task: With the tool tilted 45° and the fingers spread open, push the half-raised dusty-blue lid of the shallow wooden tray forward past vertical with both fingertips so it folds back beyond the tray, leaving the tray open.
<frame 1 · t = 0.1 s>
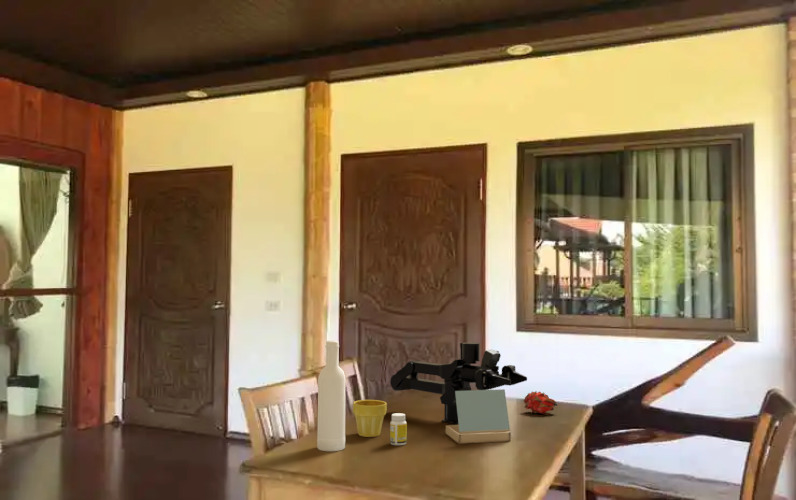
hand: (518, 380, 204), 17 cm above the table, tool horizontal, fingers open, 9 cm apart
bottle: (331, 448, 185), on the table
plant pot: (369, 435, 201), on the table
lid: (482, 411, 195), point 9 cm above the table, hinge at 70.0°
wooden tray: (477, 437, 199), on the table
supplement bottle: (398, 444, 190), on the table
dragon fruit: (540, 413, 236), on the table
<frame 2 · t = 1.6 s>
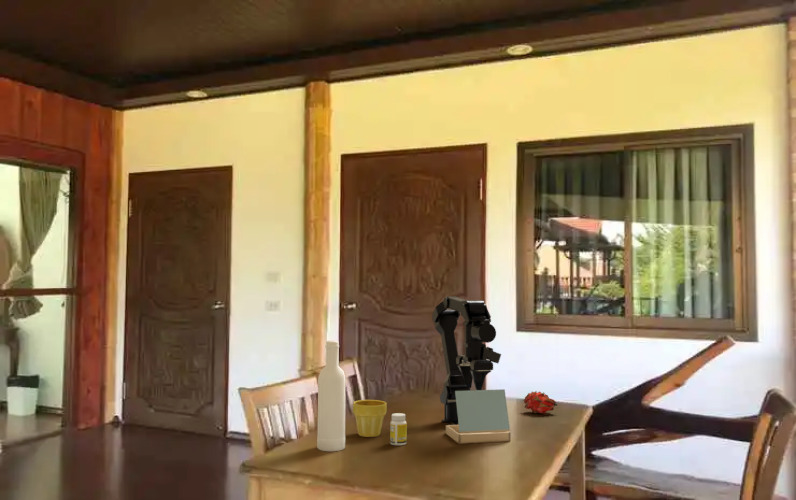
hand: (474, 390, 206), 13 cm above the table, tool pointing down, fingers open, 9 cm apart
nothing on the table moved.
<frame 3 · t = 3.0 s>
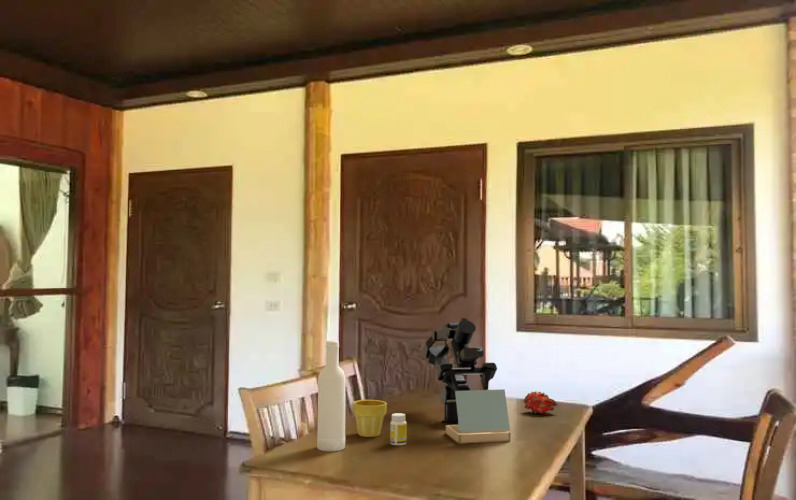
hand: (473, 393, 203), 12 cm above the table, tool tilted 45°, fingers open, 9 cm apart
nothing on the table moved.
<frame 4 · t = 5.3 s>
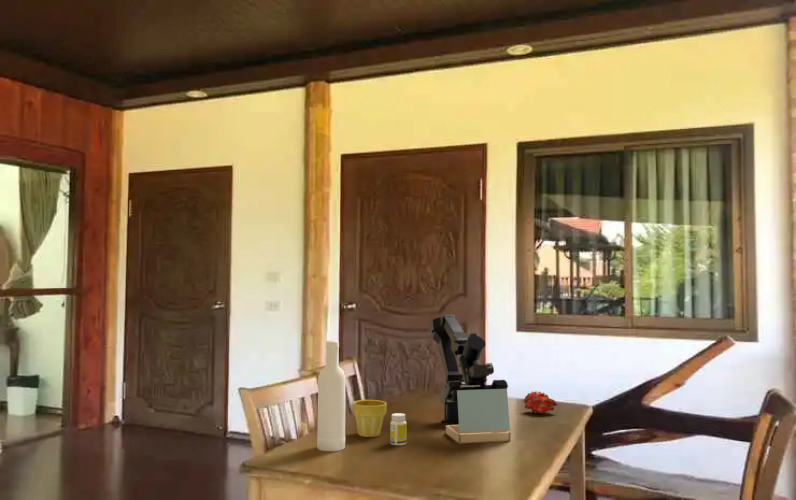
hand: (483, 412, 194), 8 cm above the table, tool tilted 45°
lid: (483, 410, 194), point 9 cm above the table, hinge at 79.1°, touching gripper
everything else where it was.
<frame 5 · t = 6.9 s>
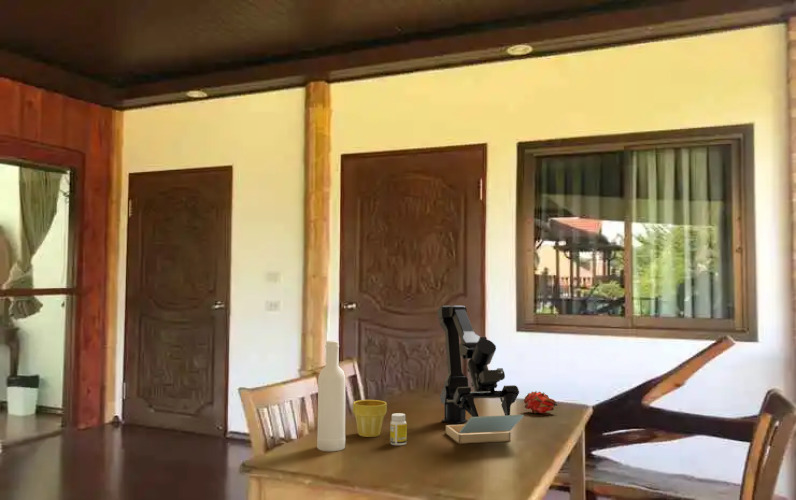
hand: (493, 420, 186), 8 cm above the table, tool tilted 45°, fingers open, 9 cm apart
lid: (491, 424, 188), point 6 cm above the table, hinge at 148.1°
everything else where it was.
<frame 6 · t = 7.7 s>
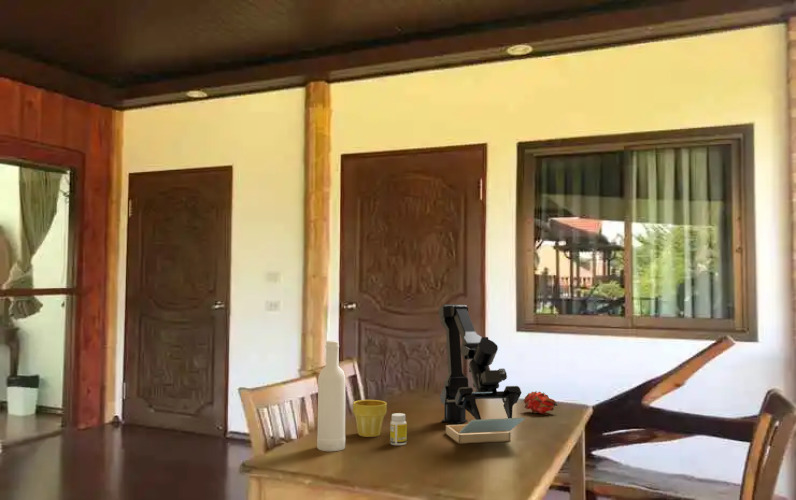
hand: (495, 420, 185), 8 cm above the table, tool tilted 45°
lid: (491, 425, 188), point 6 cm above the table, hinge at 152.1°, touching gripper
everything else where it was.
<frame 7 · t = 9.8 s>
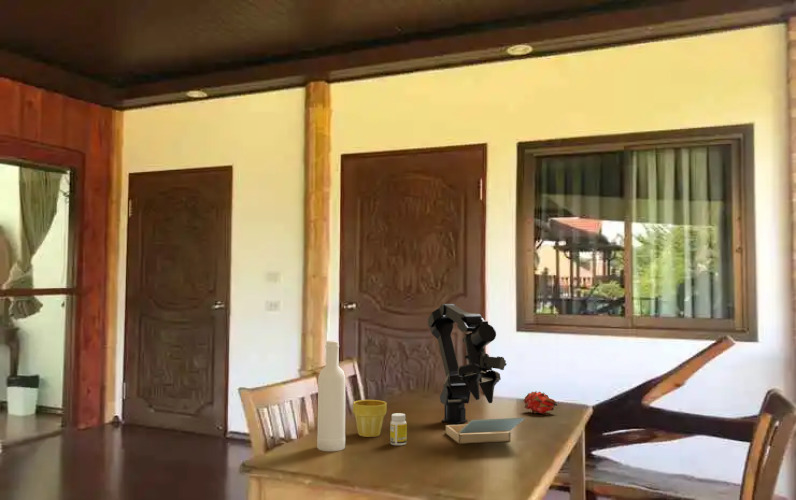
hand: (484, 401, 200), 11 cm above the table, tool tilted 25°, fingers open, 9 cm apart
lid: (491, 425, 188), point 6 cm above the table, hinge at 152.1°
everything else where it was.
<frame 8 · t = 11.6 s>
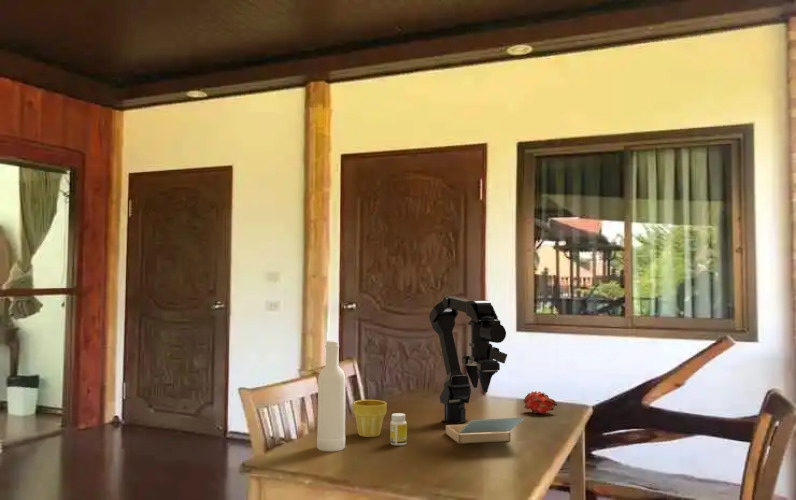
hand: (480, 390, 206), 13 cm above the table, tool pointing down, fingers open, 9 cm apart
nothing on the table moved.
at the end: lid at +152° (first picture: +70°) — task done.
